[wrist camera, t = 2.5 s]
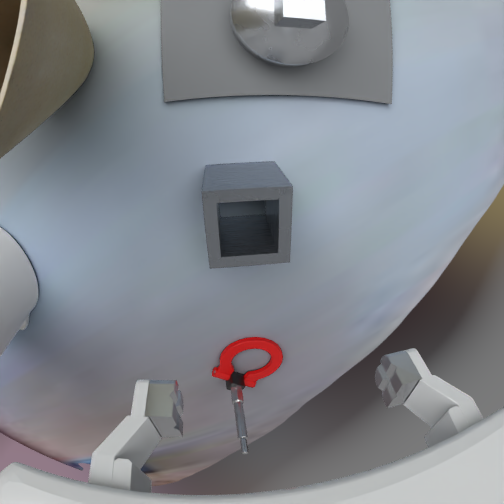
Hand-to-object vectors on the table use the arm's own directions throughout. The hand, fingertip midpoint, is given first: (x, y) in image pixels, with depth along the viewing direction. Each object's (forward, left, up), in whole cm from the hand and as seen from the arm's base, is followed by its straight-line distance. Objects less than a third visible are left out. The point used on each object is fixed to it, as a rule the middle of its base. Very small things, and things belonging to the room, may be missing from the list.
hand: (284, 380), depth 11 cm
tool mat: (+4, +22, -19) cm, 30 cm away
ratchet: (+4, +23, -19) cm, 29 cm away
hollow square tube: (0, 0, -19) cm, 19 cm away
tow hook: (0, -23, -20) cm, 30 cm away
